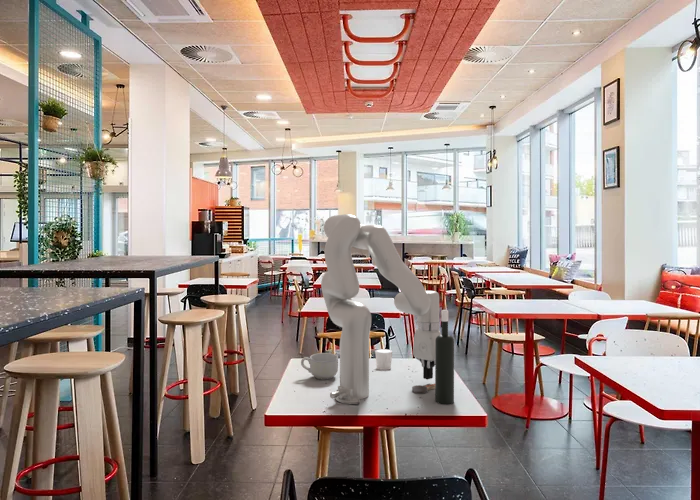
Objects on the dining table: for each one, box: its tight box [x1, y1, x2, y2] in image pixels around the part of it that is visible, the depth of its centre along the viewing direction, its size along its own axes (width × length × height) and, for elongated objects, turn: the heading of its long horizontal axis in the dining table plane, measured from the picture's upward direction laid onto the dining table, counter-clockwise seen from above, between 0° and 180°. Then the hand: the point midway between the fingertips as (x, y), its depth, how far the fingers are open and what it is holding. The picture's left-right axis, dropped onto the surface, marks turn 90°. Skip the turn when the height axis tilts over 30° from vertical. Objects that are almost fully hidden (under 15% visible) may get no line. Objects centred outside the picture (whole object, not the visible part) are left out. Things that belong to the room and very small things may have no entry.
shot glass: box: [374, 348, 393, 371], centre depth 203 cm, size 7×7×7 cm
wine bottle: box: [434, 309, 455, 406], centre depth 158 cm, size 6×6×30 cm
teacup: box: [300, 352, 339, 381], centre depth 190 cm, size 14×11×8 cm
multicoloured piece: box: [411, 383, 435, 395], centre depth 171 cm, size 13×5×4 cm, turn 126°
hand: (428, 378), depth 178 cm, fingers closed
